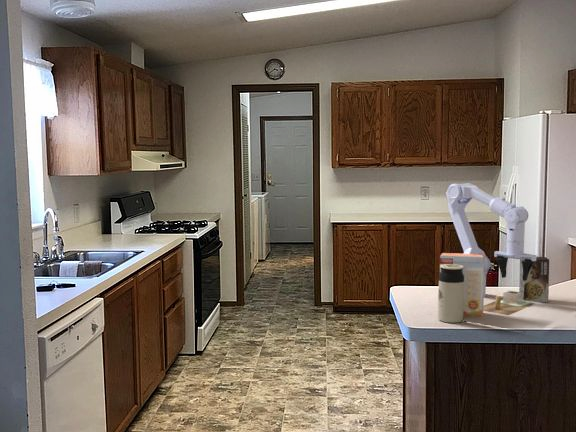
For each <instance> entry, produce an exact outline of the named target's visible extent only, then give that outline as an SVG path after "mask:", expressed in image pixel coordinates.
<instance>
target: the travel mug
mask: <svg viewBox="0 0 576 432" xmlns="http://www.w3.org/2000/svg"><path fill="white" fill-rule="evenodd" d="M440 267H441V272H440V271H439V274H438V304H437V307H438V308H437V309H438V310H437V319H438V320H439V321H440V322H443V323H448V324H456V323H461V322H463V321H464V315H463V306H464V275H463V273H462V270H463V268H464V267H463V266H462V265H457V264H443V265H440V264H439V268H440Z"/></svg>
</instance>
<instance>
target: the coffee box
mask: <svg viewBox="0 0 576 432" xmlns="http://www.w3.org/2000/svg"><path fill="white" fill-rule="evenodd" d="M522 261H525V260H521V259H519V281H518V282H519V284H518V285H519V287H518V288H519V289H518V290H519V291H518V292H523V293H524V297H523V301H528V302H532V303H533V302H534V303H549V292H550V291H549V289H550V286H549V284H550V283H549V282H550V277H549V276H550V258H548V257H545V256H537V257H536V261H534V264H533V265H532V267H531V269H530V271H529V274H528V277H527V280H526V281H523V266H522Z"/></svg>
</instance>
